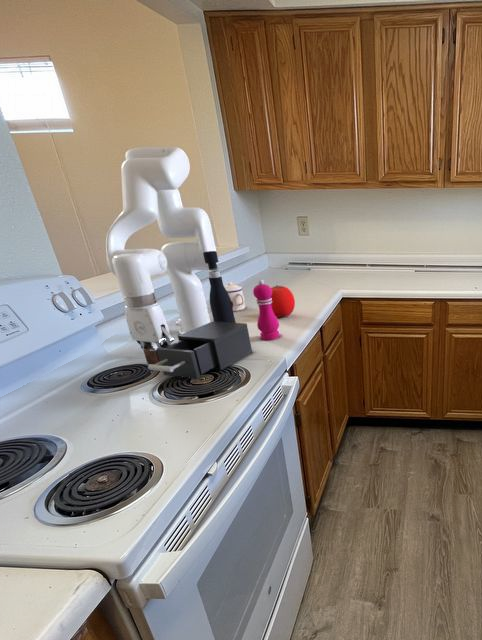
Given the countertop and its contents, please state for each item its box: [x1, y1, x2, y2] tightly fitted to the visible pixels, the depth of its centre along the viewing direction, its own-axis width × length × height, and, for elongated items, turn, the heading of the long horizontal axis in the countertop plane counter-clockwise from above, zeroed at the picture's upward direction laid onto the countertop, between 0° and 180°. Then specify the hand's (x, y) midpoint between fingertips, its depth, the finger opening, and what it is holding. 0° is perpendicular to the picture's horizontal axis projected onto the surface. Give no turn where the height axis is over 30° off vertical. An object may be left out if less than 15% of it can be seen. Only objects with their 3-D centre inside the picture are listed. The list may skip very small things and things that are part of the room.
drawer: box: [147, 339, 218, 380], centre depth 115 cm, size 19×11×8 cm, turn 163°
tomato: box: [270, 284, 296, 318], centre depth 167 cm, size 12×12×13 cm
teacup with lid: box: [224, 281, 246, 312], centre depth 179 cm, size 12×9×12 cm
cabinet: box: [177, 320, 253, 372], centre depth 125 cm, size 15×13×10 cm
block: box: [142, 343, 160, 365], centre depth 121 cm, size 4×4×4 cm
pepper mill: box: [252, 279, 280, 341], centre depth 141 cm, size 7×7×20 cm
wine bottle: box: [203, 250, 236, 323], centre depth 134 cm, size 6×6×30 cm
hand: (159, 360), depth 122 cm, fingers closed on block, 4 cm apart
